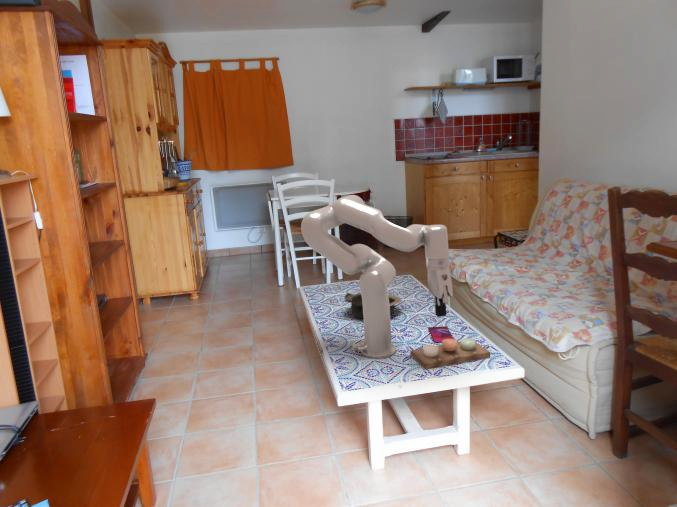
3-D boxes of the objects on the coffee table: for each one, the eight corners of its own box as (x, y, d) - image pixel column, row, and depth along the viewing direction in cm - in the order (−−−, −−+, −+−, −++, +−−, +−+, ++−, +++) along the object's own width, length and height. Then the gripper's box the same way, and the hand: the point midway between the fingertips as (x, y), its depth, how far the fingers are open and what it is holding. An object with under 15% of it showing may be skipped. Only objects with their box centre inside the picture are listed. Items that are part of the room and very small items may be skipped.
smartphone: (434, 342, 187) (427, 327, 201) (434, 344, 187) (427, 329, 201) (455, 341, 186) (447, 326, 201) (455, 343, 186) (447, 328, 201)
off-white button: (427, 358, 169) (427, 351, 169) (421, 352, 174) (420, 346, 173) (440, 355, 170) (440, 349, 170) (434, 350, 175) (434, 343, 175)
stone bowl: (338, 321, 215) (337, 300, 214) (355, 306, 239) (354, 287, 237) (395, 323, 207) (394, 301, 206) (407, 308, 230) (406, 288, 229)
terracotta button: (446, 352, 171) (446, 345, 170) (439, 346, 175) (439, 340, 175) (459, 349, 172) (459, 342, 171) (452, 344, 177) (452, 337, 176)
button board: (424, 369, 166) (424, 363, 165) (410, 355, 177) (410, 350, 177) (490, 357, 172) (490, 351, 171) (472, 344, 183) (472, 339, 182)
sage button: (465, 351, 173) (464, 344, 172) (457, 346, 177) (457, 339, 177) (478, 348, 174) (478, 342, 173) (470, 343, 179) (470, 337, 178)
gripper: (458, 265, 160) (461, 320, 163) (438, 256, 174) (442, 307, 178) (436, 268, 158) (439, 324, 162) (418, 260, 172) (422, 311, 176)
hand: (441, 315), depth 170 cm, fingers closed
